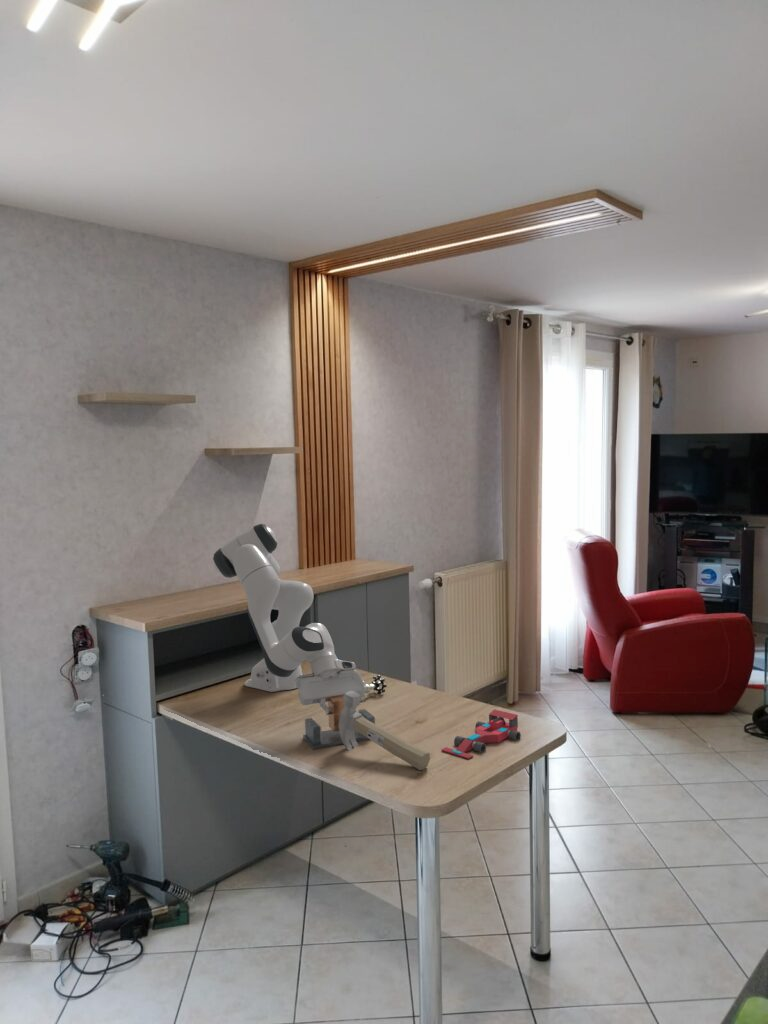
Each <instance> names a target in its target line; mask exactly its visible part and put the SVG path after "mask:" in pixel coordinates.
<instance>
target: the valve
mask: <svg viewBox="0 0 768 1024" xmlns="http://www.w3.org/2000/svg"><path fill="white" fill-rule="evenodd" d="M381 677H382V676H381V674H377V676H376V675H375V676H374V675H373V677H372V679H373V681H371V684H367V683H365V681H364V680H363V682H364V684H365V692H364V694H363V695H362V696H361V701H360V703H362V702H364V701H366V695H365V694H368V693H370V691H371V690H373V691H376V692H377V694H378V695H379V694H381V693H382V694H383V693H386V689H385V688H387V684H386V683H385V681H386V680H385V677H383V678H381Z"/></svg>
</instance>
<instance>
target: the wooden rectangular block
mask: <svg viewBox="0 0 768 1024" xmlns="http://www.w3.org/2000/svg"><path fill="white" fill-rule="evenodd" d="M327 706H328V707H331V710H332V714H330V715H328V727H329V729H330V730H333V731H334V732H337V731H340V730H339V718H340V713H341V710H342V709H343V708H344V704H343V697H342V696H335V697H328V702H327Z"/></svg>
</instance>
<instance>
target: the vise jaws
mask: <svg viewBox="0 0 768 1024" xmlns="http://www.w3.org/2000/svg"><path fill="white" fill-rule="evenodd" d="M358 712H359V713H360V714H362V717H364V718H365V719H367V720H369V721H370V722H372V723H374V724H376V722H375V721H376V719H375V718H376V717H375V716H374V715H373V714H372V713H370V712H369V711H368V710H366V708H364V709H358ZM304 724H305V725H304V728H305V730H304V731H305V733H304V734H302V738H303V740H304V741H305V742H306V743H307V744H308V745H309V747H310V748H311V749H312V750H317V749H318V750H319V749H324V748H329V747H334V746H341V745H344V744H343V742H342V740H341V737H340V731H337V732H334V731H333V730H332V729H327V730H324V731H323V729H322V726H321V725H320V724H318V722H317V721H316V720H314V719H313V718H312V717H310V718H305V719H304ZM354 733H355V739H356V742H357V743H358V742H362V741H365V740H366V741H367V740H370V739H369V738H367V737H366V736H364V735H362V734H361V733H359V732H357V731H355V730H354Z"/></svg>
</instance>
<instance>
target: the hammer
mask: <svg viewBox="0 0 768 1024" xmlns="http://www.w3.org/2000/svg"><path fill="white" fill-rule="evenodd" d="M360 701H361V697H360V695H359V694H358V693H357V692H355V691H348V692H346V693H345V694H344V696H343V704H344V708H343V709H342V710H341V713H340V718H339V730H340V737H341V740H342V742H343V744H342V745H343V746H344V747H345V749H346V751H351V750H353V748H354V749H355V748H357V747H359V745H358V741H357V742H356V739H355V733H354V730H355V731H357V732H359V733H361V734H362V735H364V736H366V737H367V738H369V739H368V740H370V741H371V742H374V744H376V745H378V746H380V747H381V748H382V749H384V750H386V751H387V752H389V753H390V754H392V755H393V756H395V757H397V758H400V759H401V760H402V761H404V762H406V763H407V764H409V765H410V766H412V767H413V768H415V769H417V770H419V771H424V770H425V769H427V767H428V766H429V763H430V760H431V753H430V752H429V751H427V750H425V749H423V748H420V747H418V746H416V745H414V744H412V743H410V742H408V741H406V740H405V739H403V738H401V737H399V736H398V735H396V734H394V733H393V732H391V731H389V730H387V729H385V728H384V727H381V726H379V725H378V724H376V723H375V724H374V723H372V722H370V721H369V720H367V719H365V718H364V717H362V714H360V713H359V711H357V709H356V708H357V706H359V705H360V703H361V702H362V701H361V702H360Z"/></svg>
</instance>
